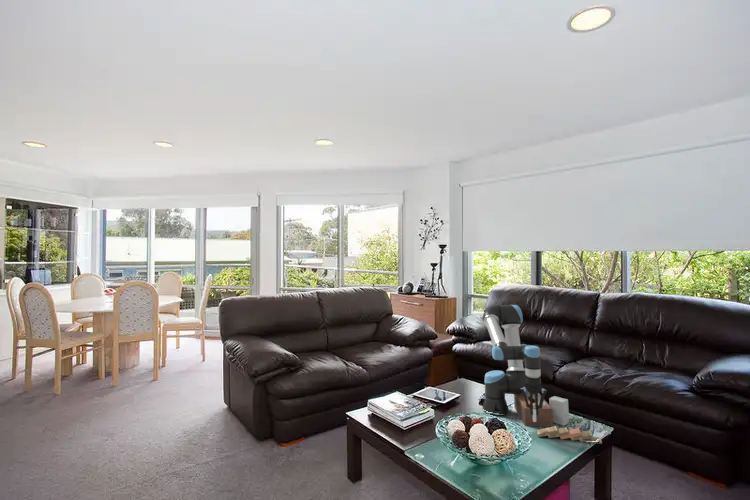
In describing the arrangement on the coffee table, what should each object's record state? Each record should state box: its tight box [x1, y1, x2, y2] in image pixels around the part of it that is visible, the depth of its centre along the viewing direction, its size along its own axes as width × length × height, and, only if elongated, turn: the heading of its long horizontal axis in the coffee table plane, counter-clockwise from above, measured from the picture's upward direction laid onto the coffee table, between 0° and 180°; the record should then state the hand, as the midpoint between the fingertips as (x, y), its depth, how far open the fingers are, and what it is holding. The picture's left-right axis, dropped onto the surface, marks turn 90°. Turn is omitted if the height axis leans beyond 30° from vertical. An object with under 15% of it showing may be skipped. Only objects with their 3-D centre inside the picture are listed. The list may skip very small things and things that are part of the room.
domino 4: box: [579, 435, 603, 445], centre depth 199 cm, size 2×5×10 cm
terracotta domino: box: [559, 427, 582, 440], centre depth 201 cm, size 2×5×10 cm
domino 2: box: [547, 426, 569, 439], centre depth 203 cm, size 2×5×10 cm
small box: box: [548, 395, 570, 427], centre depth 221 cm, size 8×6×13 cm
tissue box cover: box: [513, 392, 553, 427], centre depth 229 cm, size 26×14×10 cm, turn 173°
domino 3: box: [570, 430, 593, 442], centre depth 200 cm, size 2×5×10 cm
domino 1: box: [536, 425, 558, 438], centre depth 205 cm, size 2×5×10 cm
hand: (534, 420), depth 206 cm, fingers closed
